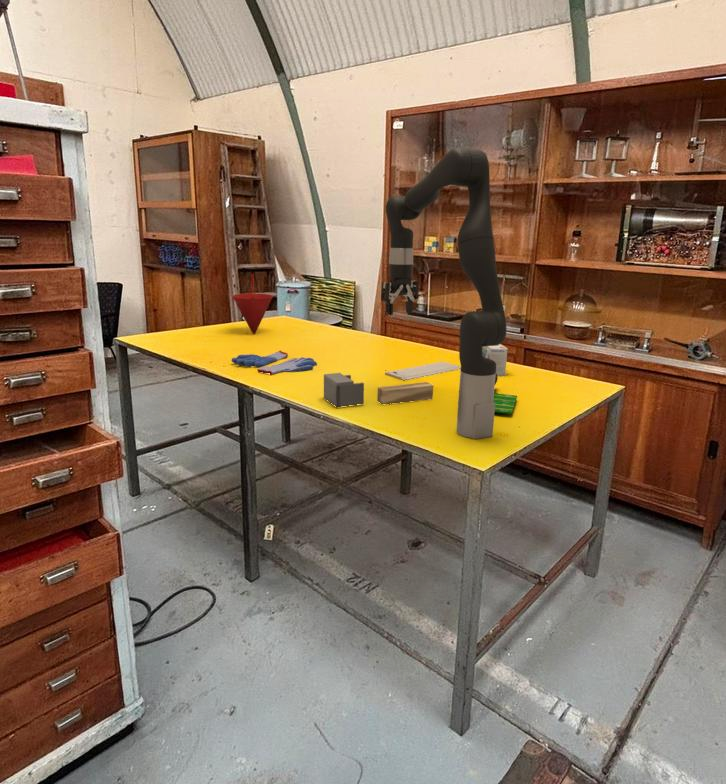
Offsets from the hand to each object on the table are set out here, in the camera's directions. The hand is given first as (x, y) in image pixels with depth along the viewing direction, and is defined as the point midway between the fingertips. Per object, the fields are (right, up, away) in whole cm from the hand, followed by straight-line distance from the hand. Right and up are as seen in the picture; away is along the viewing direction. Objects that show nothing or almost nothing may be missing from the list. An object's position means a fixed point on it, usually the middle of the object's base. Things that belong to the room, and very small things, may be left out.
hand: (399, 313), depth 186 cm
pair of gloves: (-46, -15, +40) cm, 63 cm away
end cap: (-18, -28, -4) cm, 34 cm away
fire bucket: (-66, +3, +99) cm, 119 cm away
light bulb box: (+38, -18, +35) cm, 55 cm away
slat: (+2, -28, -2) cm, 28 cm away
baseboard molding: (+12, -18, +34) cm, 41 cm away
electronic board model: (+30, -28, 0) cm, 41 cm away
